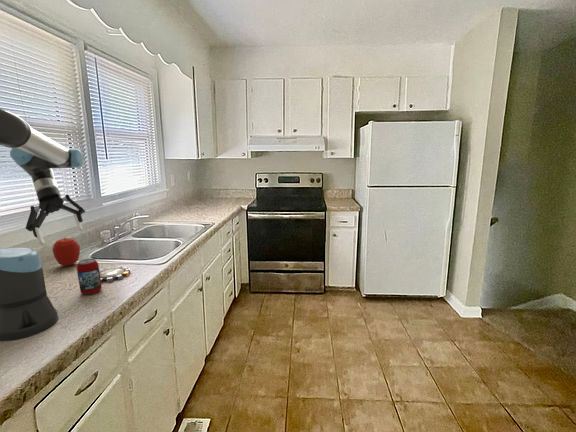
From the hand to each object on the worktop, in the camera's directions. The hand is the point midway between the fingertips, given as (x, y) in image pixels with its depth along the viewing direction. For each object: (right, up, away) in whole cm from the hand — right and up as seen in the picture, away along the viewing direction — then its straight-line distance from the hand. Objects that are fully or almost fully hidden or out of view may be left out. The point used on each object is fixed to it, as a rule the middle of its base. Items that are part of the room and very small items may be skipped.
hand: (61, 236), depth 123 cm
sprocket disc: (+13, -17, +10) cm, 24 cm away
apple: (-15, -15, +25) cm, 33 cm away
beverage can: (+15, -20, -5) cm, 26 cm away
